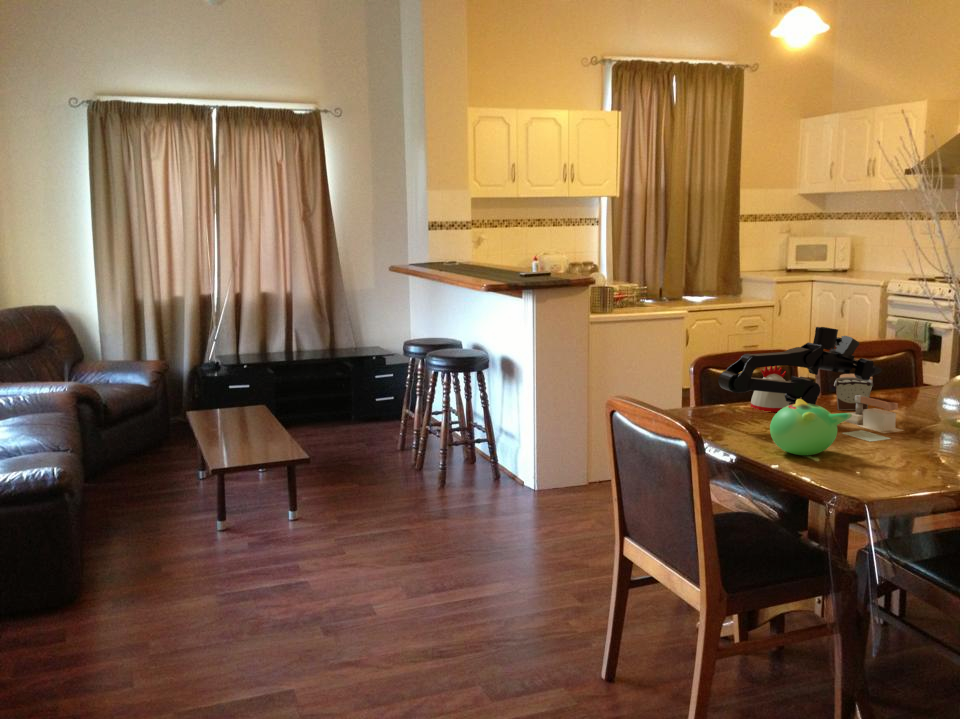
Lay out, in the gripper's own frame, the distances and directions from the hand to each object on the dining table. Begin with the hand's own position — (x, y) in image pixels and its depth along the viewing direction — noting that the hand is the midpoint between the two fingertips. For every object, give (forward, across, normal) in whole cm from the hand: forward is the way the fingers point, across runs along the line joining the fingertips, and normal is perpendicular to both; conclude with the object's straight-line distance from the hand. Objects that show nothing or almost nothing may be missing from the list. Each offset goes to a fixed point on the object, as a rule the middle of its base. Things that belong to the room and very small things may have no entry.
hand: (871, 367), depth 282 cm
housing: (-5, -13, +17) cm, 21 cm away
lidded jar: (+18, +26, +15) cm, 35 cm away
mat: (-14, -22, +18) cm, 32 cm away
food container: (+6, +13, +16) cm, 22 cm away
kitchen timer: (-18, +20, +21) cm, 34 cm away
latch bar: (-6, -12, +10) cm, 17 cm away
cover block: (-4, -15, +16) cm, 22 cm away
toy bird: (-42, -33, +22) cm, 58 cm away
